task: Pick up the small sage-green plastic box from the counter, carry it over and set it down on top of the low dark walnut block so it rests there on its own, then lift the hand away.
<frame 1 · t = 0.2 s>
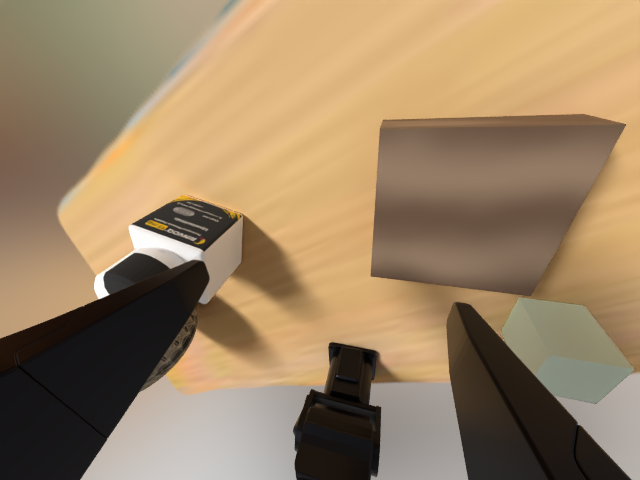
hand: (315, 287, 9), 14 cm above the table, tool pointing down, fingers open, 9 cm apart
sage pill box: (539, 319, 24), on the table
medicine bottle: (215, 228, 29), on the table
walnut block: (453, 197, 20), on the table
decorative egg: (181, 292, 38), on the table
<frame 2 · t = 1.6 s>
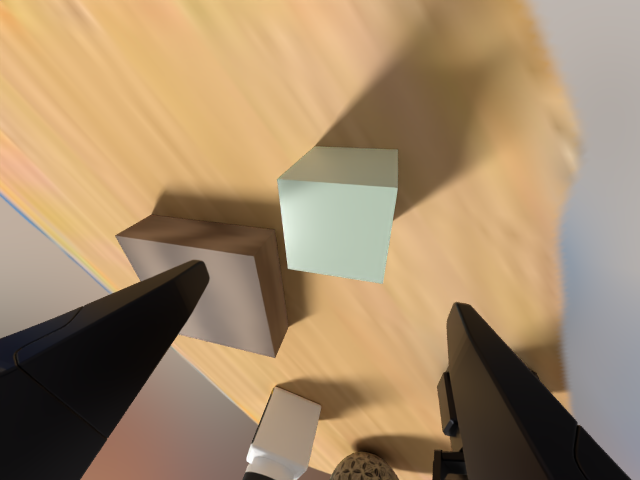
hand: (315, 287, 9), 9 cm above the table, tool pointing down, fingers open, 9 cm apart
sage pill box: (352, 187, 16), on the table
medicine bottle: (293, 402, 37), on the table
walnut block: (227, 272, 25), on the table
decorative egg: (370, 453, 40), on the table
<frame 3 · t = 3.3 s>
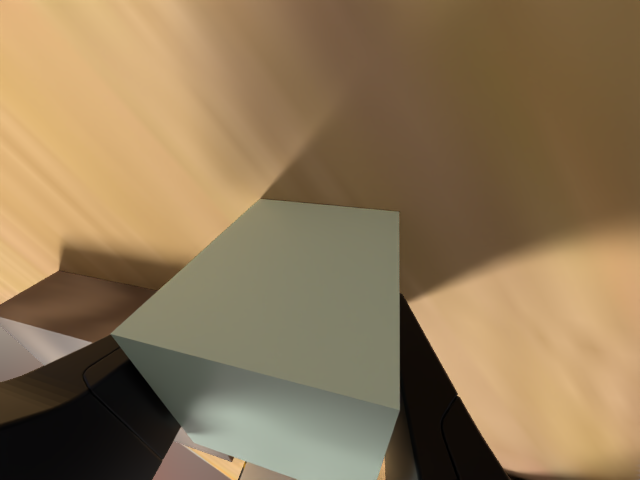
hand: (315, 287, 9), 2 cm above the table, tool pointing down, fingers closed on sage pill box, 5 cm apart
sage pill box: (325, 261, 10), on the table, touching gripper
medicine bottle: (273, 471, 31), on the table
walnut block: (171, 341, 19), on the table
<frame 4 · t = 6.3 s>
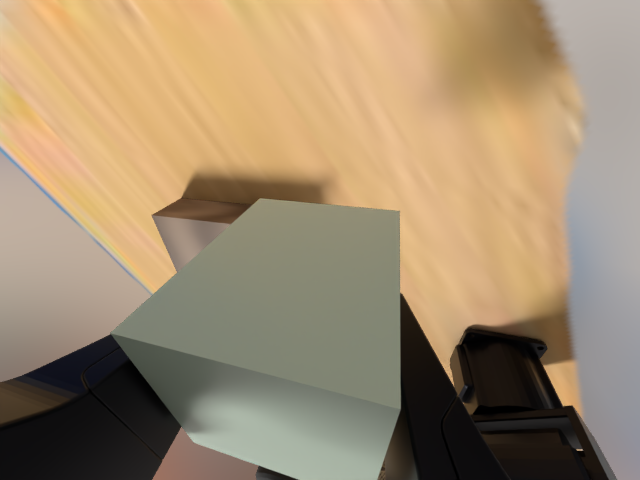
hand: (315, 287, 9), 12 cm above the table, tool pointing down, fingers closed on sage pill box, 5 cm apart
sage pill box: (326, 260, 10), point 10 cm above the table, touching gripper
medicine bottle: (308, 385, 38), on the table
walnut block: (250, 253, 26), on the table
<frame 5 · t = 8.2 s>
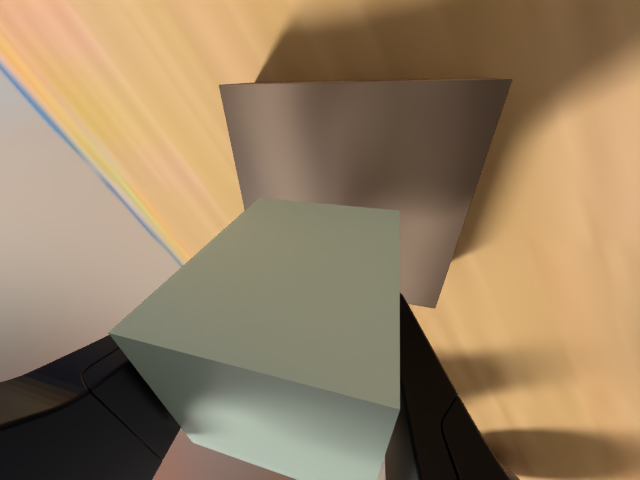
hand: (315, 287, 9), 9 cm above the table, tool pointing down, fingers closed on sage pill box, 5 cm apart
sage pill box: (325, 260, 10), point 8 cm above the table, touching gripper
walnut block: (353, 186, 17), on the table
when the fingers open (7 cm above the table, at t = 9.5 s): sage pill box drops 2 cm, point 4 cm above the table.
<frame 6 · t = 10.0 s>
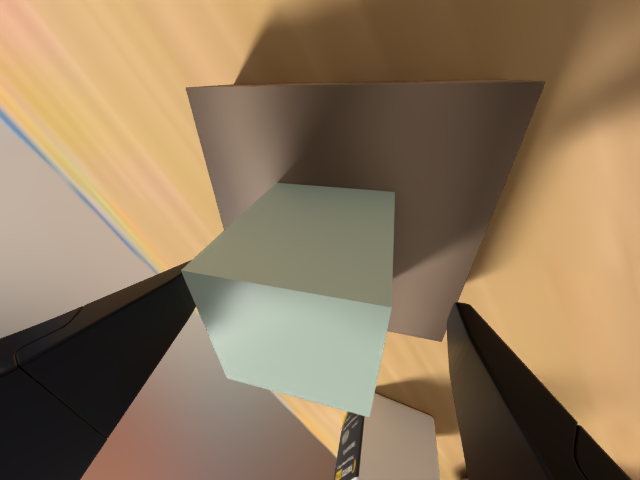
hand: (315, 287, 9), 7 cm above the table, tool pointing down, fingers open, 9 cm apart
sage pill box: (332, 237, 12), point 4 cm above the table
medicine bottle: (385, 412, 27), on the table
walnut block: (348, 200, 15), on the table
decorative egg: (479, 479, 30), on the table
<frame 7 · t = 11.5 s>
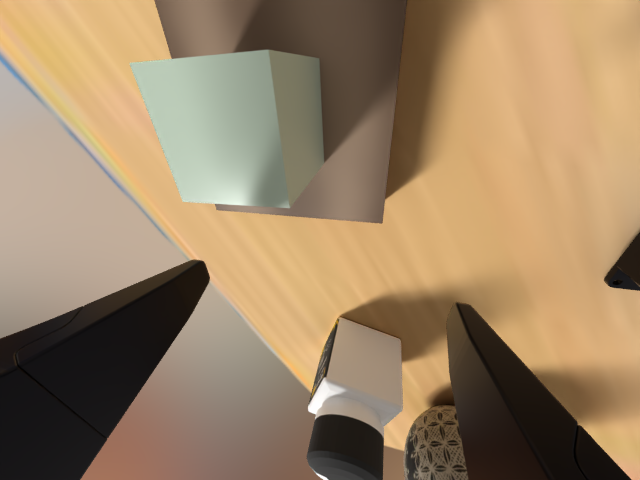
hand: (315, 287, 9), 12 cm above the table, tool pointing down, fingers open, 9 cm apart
sage pill box: (278, 117, 14), point 3 cm above the table
medicine bottle: (359, 342, 29), on the table
walnut block: (303, 111, 17), on the table
decorative egg: (450, 408, 32), on the table
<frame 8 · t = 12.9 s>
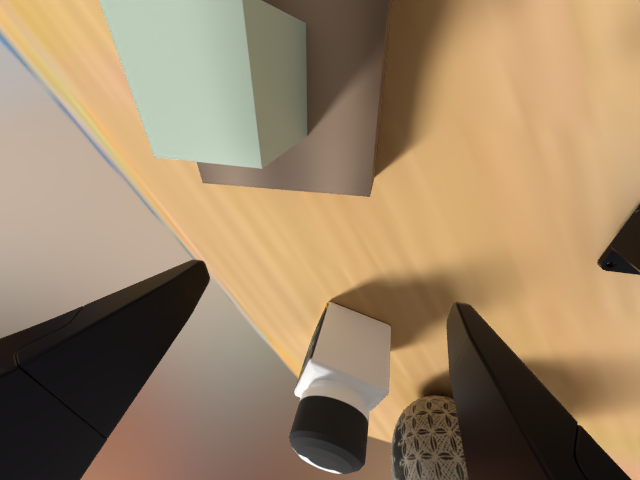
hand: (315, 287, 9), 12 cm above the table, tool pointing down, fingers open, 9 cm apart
sage pill box: (262, 84, 14), point 3 cm above the table, touching walnut block
medicine bottle: (349, 329, 29), on the table
walnut block: (292, 82, 17), on the table, touching sage pill box
decorative egg: (441, 399, 31), on the table
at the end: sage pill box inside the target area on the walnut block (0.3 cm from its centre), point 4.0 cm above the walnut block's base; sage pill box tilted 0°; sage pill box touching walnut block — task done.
